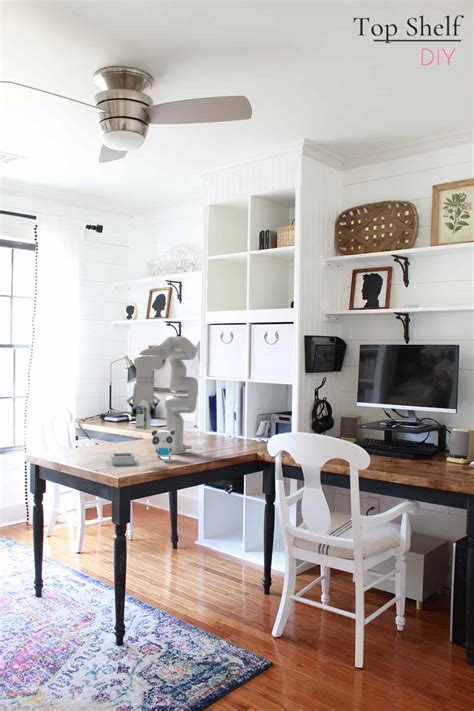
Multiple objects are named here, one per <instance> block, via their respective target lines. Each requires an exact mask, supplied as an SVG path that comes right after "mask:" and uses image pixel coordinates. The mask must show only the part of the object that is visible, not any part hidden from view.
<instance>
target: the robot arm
mask: <svg viewBox="0 0 474 711" xmlns="http://www.w3.org/2000/svg"><path fill="white" fill-rule="evenodd" d="M196 356H197V348H196V347H195V345H194V344H193V342H192V341H191V340H189V338H187V337H186V336H167V337H165V338H164V339H162V340H161V341H160V342H159V343H158V344H157V345H154V346H151V347H149V348H145V349H143V350H141V351H140V352H138V354H137V355H136V356H135V358H134V359H133V365H134V367H135V369H136V373H135V376H136V377H135V383H134V385H133V388H132V389H133V390H132V396H130V397H129V398H127V399H126V403H127V404H128V405H129V406H130V407H131V408H132V416H133V417H134V418H136V406H137V404H139V403H140V402H141V400H148V403H149V404H151V418H152V417H154V415H155V408H156V407H158V405H159V404H160V402H161V399H160V398H159V397H157V396H156V395H155V391H154V390H155V389H154V388H155V387H154V383H153V382H155V378H154V377H152V375H153V374H152V372H153V371H158V370H160V369H161V368H162V367H163V363H164V360H166V359H168V361H169V363H170V367H171V369H170V370H171V371H170V380H169V391H170V392H172V393H173V394H176V395H169V396H167V397H166V398H165V400H164V409H165V418H166V419H165V420H166V422H165V423H166V427H165V431H170V432H171V431H172V430H174V431H175V434H174V439H175V441H174V444H173V446H172V447H171V455H181V454H185V453H187V451H186V450H192V445H185V443H184V418H183V416H182V414H193V413H195V412H196V409H197V402H198V394H199V381H198V380H197V378H196V377H194V376H187V369H188V368H187V366H186V364H185V363H184V361H191V360H194V359H195V358H196ZM177 394H184V395H177ZM185 394H186V395H185ZM155 400H156V402H155ZM131 401H132V402H133V404H132V402H131Z"/></svg>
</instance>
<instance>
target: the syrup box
mask: <svg viewBox="0 0 474 711" xmlns="http://www.w3.org/2000/svg"><path fill="white" fill-rule="evenodd" d="M151 420H152V417H151V404H149V403H148V400H141V402H140V403H139V404H137V406H136V417H135V430H140V431H141V430H143V431H146V430H151V427H152V421H151Z"/></svg>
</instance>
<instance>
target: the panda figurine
mask: <svg viewBox="0 0 474 711" xmlns="http://www.w3.org/2000/svg"><path fill="white" fill-rule="evenodd" d="M174 434H175V431H174V430H172V431H171V432H170V431H166V430H159V431H157V429H155V430H153V431H152V432H151V436H152V437H153V438H152V440H151V441H152V445H153V447H154V448H155V453H156V454H157V458H161V460H162V462H173V461H175V460H176V458H175V457H172V454H171V447H172V446H173V444H174V441H175V439H174Z"/></svg>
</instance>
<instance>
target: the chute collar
mask: <svg viewBox="0 0 474 711" xmlns="http://www.w3.org/2000/svg"><path fill="white" fill-rule="evenodd" d="M135 457H136V456H135V454H134V453H133V452H118V453H115V452H114V453H110V461H111V463H112V465H134V460H135Z"/></svg>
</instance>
